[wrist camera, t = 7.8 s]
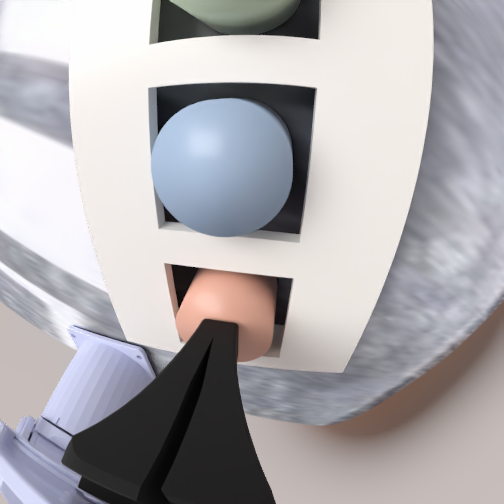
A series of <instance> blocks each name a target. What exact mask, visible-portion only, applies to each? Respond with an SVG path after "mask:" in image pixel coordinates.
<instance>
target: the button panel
mask: <svg viewBox="0 0 504 504" xmlns="http://www.w3.org/2000/svg"><path fill="white" fill-rule="evenodd" d="M160 4H161V0H75V5H74V12H73V19H72V28H71V40H70V57H69V98H70V117H71V129H72V139H73V148H74V155H75V162H76V169H77V175H78V181H79V186H80V192H81V197H82V202H83V206H84V211H85V215H86V219H87V224H88V228H89V231H90V235H91V239H92V243H93V246H94V250H95V253H96V257H97V260H98V263H99V267H100V270H101V273H102V276H103V279H104V282H105V285H106V288H107V291H108V293H109V296H110V299H111V302H112V304H113V307H114V310H115V312H116V315H117V317H118V320H119V322H120V325H121V327H122V329H123V332H124V334H125V336H126V339H127V341H130V342H134V343H138V344H142V345H145V346H149V347H154V348H158V349H162V350H166V351H171V352H175V353H178V352H179V351H180V350H181V349H182V348H183V346H184V345H185V344H186V343H185V342H184V340H183V339H182V338H181V336H180V335H179V333H178V331H177V328H176V323H175V320H176V315H177V313H178V310H179V308H178V303H177V297H176V292H175V286H174V280H173V274H172V268H171V264H175V265H183V266H191V267H199V268H207V269H215V270H223V271H232V272H240V273H249V274H258V275H267V276H276V277H285V278H293V279H292V285H291V291H290V297H289V303H288V309H287V314H286V320H285V325H278V324H274V329H273V338H272V343H271V346H270V348H269V350H268V351H267V352H266V353H265V354H264V355H262V356H261V357H259V358H257V359H254V360H251V361H247V362H238V363H237V364H243V365H250V366H258V367H267V368H276V369H286V370H298V371H313V372H332V373H343V371H344V369H345V367H346V365H347V363H348V361H349V360H350V358H351V356H352V354H353V352H354V350H355V348H356V346H357V344H358V342H359V340H360V338H361V336H362V333H363V331H364V329H365V327H366V325H367V323H368V320H369V318H370V316H371V314H372V311H373V309H374V307H375V305H376V302H377V300H378V297H379V295H380V293H381V290H382V288H383V285H384V283H385V280H386V277H387V275H388V272H389V269H390V267H391V264H392V261H393V258H394V256H395V253H396V250H397V247H398V244H399V241H400V238H401V235H402V231H403V228H404V225H405V221H406V218H407V215H408V211H409V208H410V204H411V200H412V196H413V192H414V189H415V184H416V180H417V176H418V171H419V167H420V162H421V157H422V152H423V147H424V141H425V135H426V129H427V122H428V115H429V107H430V98H431V88H432V74H433V43H434V41H433V11H432V0H319V33H318V40H317V39H309V38H299V37H288V36H271V35H226V36H209V37H198V38H188V39H180V40H173V41H167V42H161V43H158V29H159V16H160ZM208 83H257V84H276V85H288V86H299V87H308V88H315V100H314V112H313V123H312V134H311V144H310V154H309V163H308V172H307V180H306V189H305V197H304V205H303V212H302V220H301V227H300V234H292V233H282V232H273V231H263V230H256V231H253V232H251V233H248V234H245V235H241V236H236V237H216V236H210V235H206V234H202V233H200V232H197V231H195V230H193V229H191V228H189V227H187V226H185V225H184V224H182V223H176V222H165V216H164V208H163V203H162V202H161V200H160V198H159V196H158V194H157V192H156V189H155V187H154V183H153V180H152V174H151V156H152V151H153V147H154V144H155V141H156V138H157V136H158V126H157V87H166V86H176V85H189V84H208Z"/></svg>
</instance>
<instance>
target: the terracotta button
mask: <svg viewBox="0 0 504 504" xmlns="http://www.w3.org/2000/svg"><path fill="white" fill-rule="evenodd" d="M277 290H278V284H277V279H276V276H267V275H258V274H249V273H240V272H232V271H223V270H215V269H207V268H198V270H197V273H196V275H195V277H194V279H193V281H192V283H191V285H190V287H189V289H188V291H187V293H186V295H185V298H184V300H183V302H182V304H181V306H180V308H179V310H178V313H177V315H176V320H175V323H176V328H177V331H178V333H179V335H180V336H181V338H182V339H183V340H184V342H185V343H186V342H187V341H188V340H189V339H190V337H191V336H192V335H193V333H194V332H195V330H196V329H197V327H198V326H199V325H200V323H201V321H202V320H203V319H211V320H218V321H224V322H232V323H236V324H237V325H239V339H238V359H237V363H238V362H247V361H251V360H254V359H257V358H259V357H261V356H262V355H264V354H265V353H266V352H267V351H268V350H269V348H270V346H271V343H272V338H273V329H274V319H275V310H276V300H277Z"/></svg>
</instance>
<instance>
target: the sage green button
mask: <svg viewBox="0 0 504 504" xmlns="http://www.w3.org/2000/svg"><path fill="white" fill-rule="evenodd" d="M170 1H171V2H173V3H174V4H176V5H177V6H179V7H181V8H182V9H184V10H185V11H187V12H188V13H190V14H191V15H193V16H194V17H196V18H197V19H199V20H200V21H201V22H203V23H204V24H206V25H207V26H209V27H210V28H212V29H214V30H216V31H219V32H221V33H225V34H230V35H254V34H260V33H264V32H267V31H269V30H272V29H274V28H276V27H278V26H280V25H281V24H283V23H285V22H286V21H287V20H288V19H289V18H290V17H291V16H292V15H293V14H294V13H295V11H296V10H297V8H298V6H299V4H300V1H301V0H170Z"/></svg>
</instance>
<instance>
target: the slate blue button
mask: <svg viewBox="0 0 504 504" xmlns="http://www.w3.org/2000/svg"><path fill="white" fill-rule="evenodd" d="M151 174H152V180H153V183H154V187H155V189H156V192H157V194H158V196H159V198H160V200H161V202H162V203H163V205H164V206H165V207H166V209H167V210H168V211H169V212H170V213H171V214H172V215H173V216H174V217H175V218H176V219H177V220H178V221H180V222H181V223H182V224H184V225H185V226H187V227H189V228H191V229H193V230H195V231H197V232H200V233H202V234H206V235H210V236H216V237H236V236H241V235H245V234H248V233H251V232H253V231H256V230H258V229H260V228H261V227H263V226H264V225H266V224H267V223H268V222H270V221H271V220H272V219H273V218H274V217H275V216H276V215H277V214H278V213H279V211H280V210H281V208H282V207H283V206H284V204H285V202H286V200H287V198H288V195H289V192H290V189H291V185H292V179H293V150H292V139H291V136H290V132H289V130H288V128H287V126H286V124H285V122H284V121H283V119H282V118H281V117H280V116H279V115H278V114H277V113H276V112H275V111H274V110H273V109H272V108H270V107H269V106H267V105H265V104H263V103H262V102H259V101H256V100H253V99H248V98H226V99H213V100H205V101H201V102H197V103H195V104H192V105H189V106H187V107H186V108H184V109H182V110H180V111H179V112H178V113H176V114H175V115H174V116H173V117H171V118H170V119H169V120H168V121H167V123H166V124H165V125H164V127H163V128H162V129H161V131H160V133H159V134H158V136H157V138H156V141H155V144H154V147H153V151H152V156H151Z"/></svg>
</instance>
